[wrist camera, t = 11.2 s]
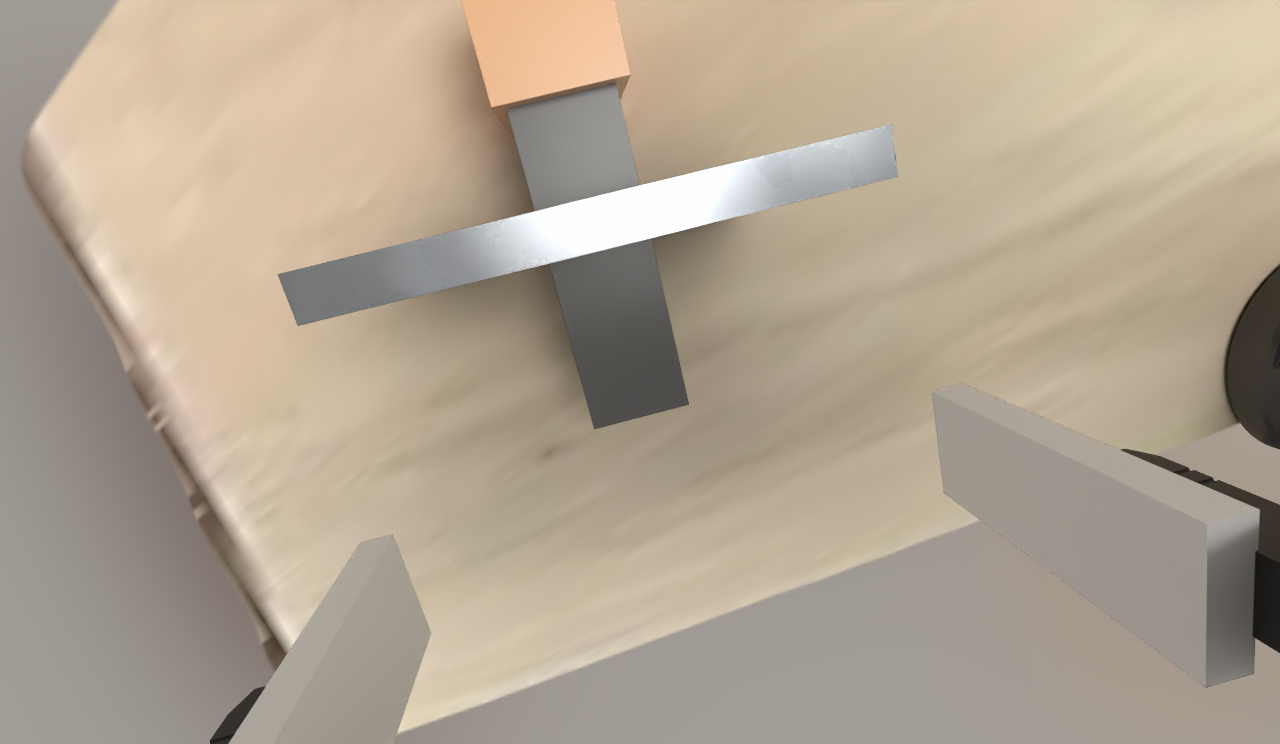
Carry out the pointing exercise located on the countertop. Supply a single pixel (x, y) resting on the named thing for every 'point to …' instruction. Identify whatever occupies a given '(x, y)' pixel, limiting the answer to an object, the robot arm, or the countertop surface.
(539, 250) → the grey arch
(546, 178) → the plug
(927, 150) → the countertop surface
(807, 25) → the countertop surface
